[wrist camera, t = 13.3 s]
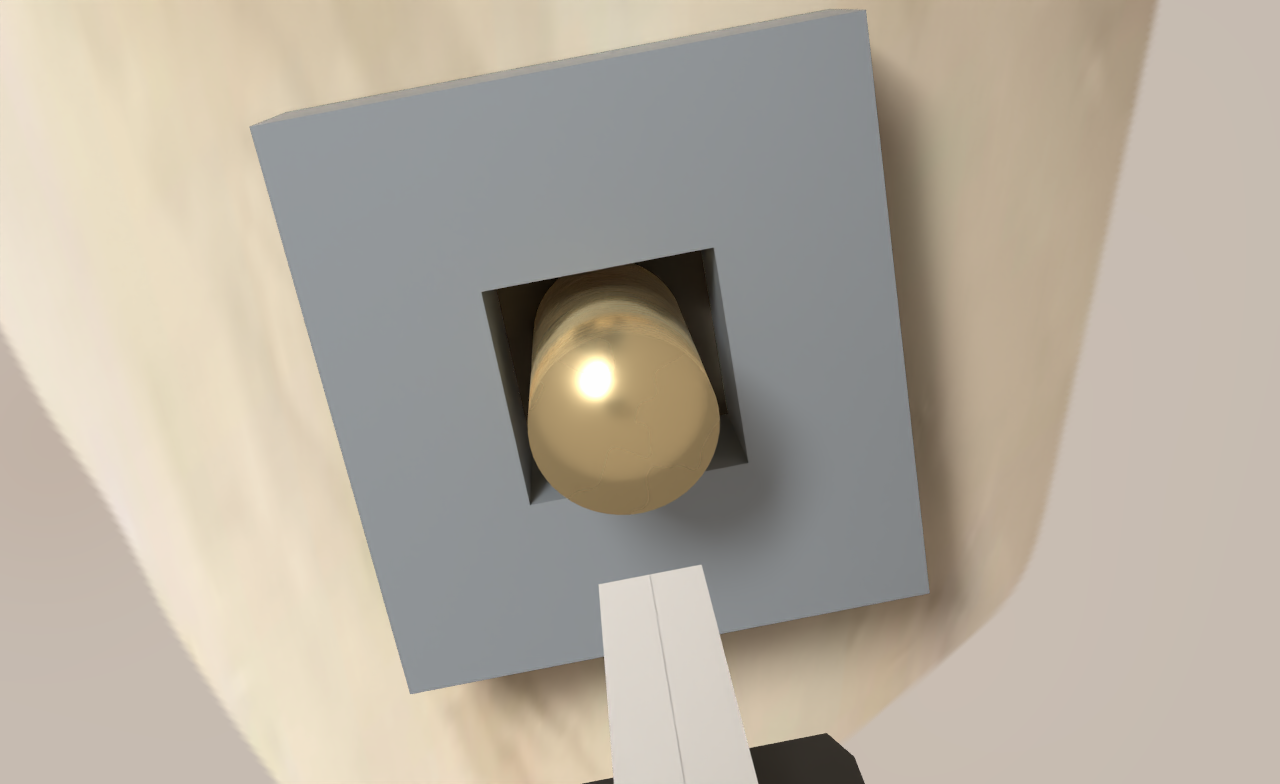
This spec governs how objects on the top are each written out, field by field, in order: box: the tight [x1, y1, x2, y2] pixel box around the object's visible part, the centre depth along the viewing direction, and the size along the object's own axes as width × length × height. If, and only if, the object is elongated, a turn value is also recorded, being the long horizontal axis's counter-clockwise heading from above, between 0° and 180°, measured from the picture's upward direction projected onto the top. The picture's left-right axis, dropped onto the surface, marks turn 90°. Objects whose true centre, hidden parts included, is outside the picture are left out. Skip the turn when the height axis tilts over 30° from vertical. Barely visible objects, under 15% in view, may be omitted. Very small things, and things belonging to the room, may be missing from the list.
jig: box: [250, 9, 930, 694], centre depth 32 cm, size 16×15×4 cm
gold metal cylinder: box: [528, 263, 720, 515], centre depth 30 cm, size 4×4×8 cm
